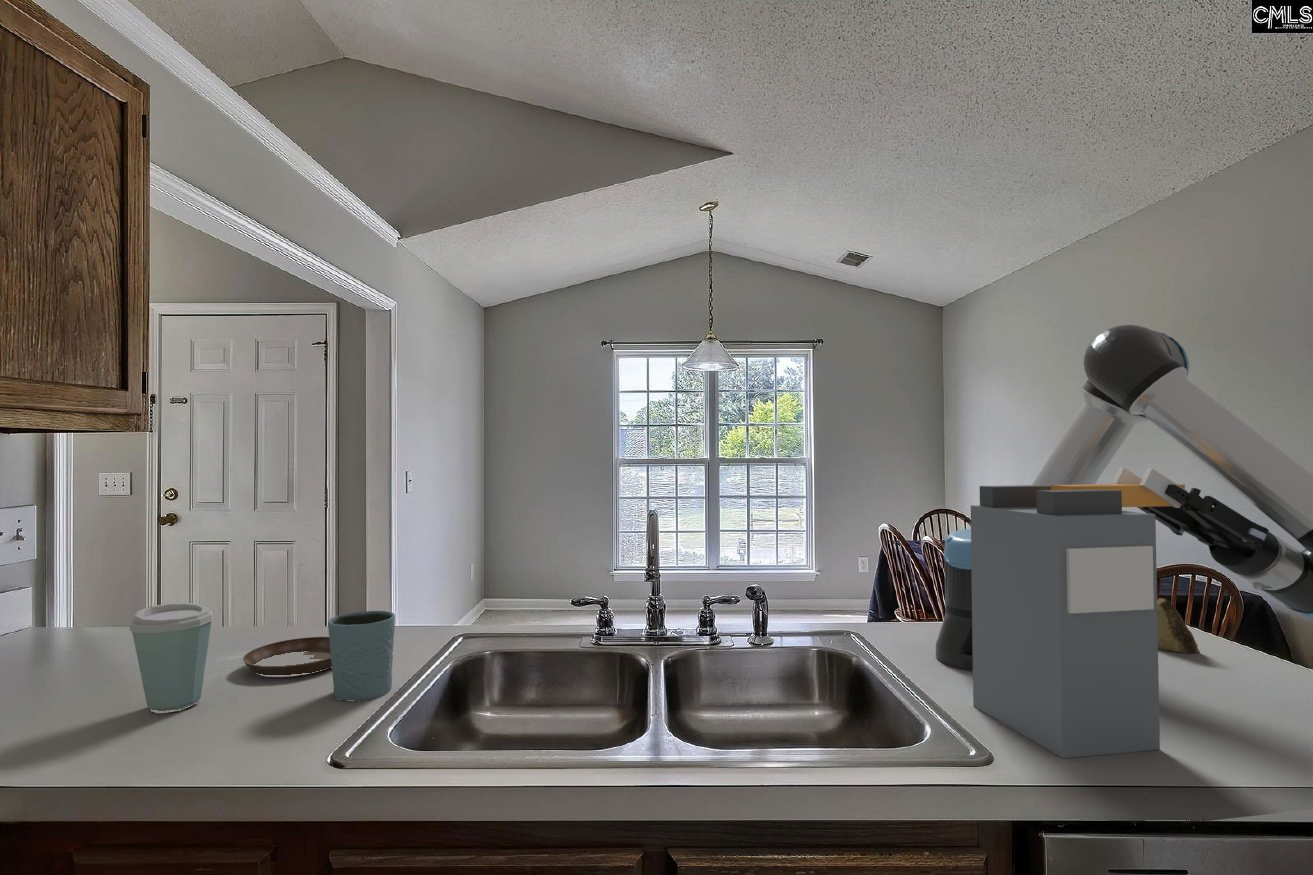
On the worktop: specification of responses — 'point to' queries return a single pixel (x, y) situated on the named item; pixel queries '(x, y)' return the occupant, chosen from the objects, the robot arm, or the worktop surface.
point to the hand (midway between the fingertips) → (1131, 476)
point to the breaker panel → (1066, 618)
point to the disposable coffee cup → (172, 653)
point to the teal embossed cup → (362, 654)
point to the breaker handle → (1123, 493)
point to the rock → (1173, 630)
